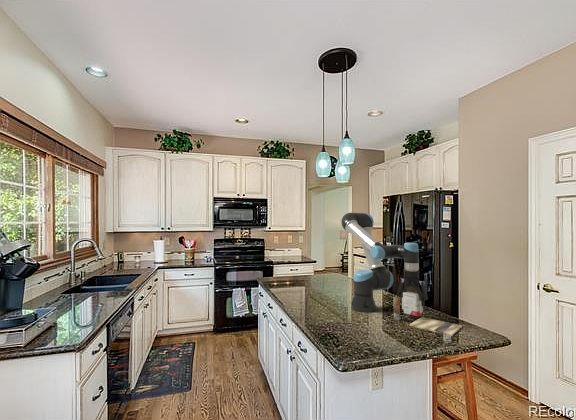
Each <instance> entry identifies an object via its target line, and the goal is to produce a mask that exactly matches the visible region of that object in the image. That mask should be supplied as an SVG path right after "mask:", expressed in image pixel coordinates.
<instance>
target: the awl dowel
mask: <svg viewBox="0 0 576 420" xmlns="http://www.w3.org/2000/svg"><path fill="white" fill-rule="evenodd" d="M392 299H393V320H394V321H400V320H401V319H400V318H401V316H400V313H401V310H400V308H401V307H400V306H401V305H400V304H401V302H400V296H397V297H396V296H394V297H393V298H392Z"/></svg>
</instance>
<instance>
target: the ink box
mask: <svg viewBox="0 0 576 420" xmlns="http://www.w3.org/2000/svg"><path fill="white" fill-rule="evenodd" d="M420 300H421V299H420V297H419V295H418V293H417V292H413V291H408V290H407V291H406V292H404V293H403V304H404V309H403V314H406V315H411V316H413V317H420V316H422V315H423V312H422V313H420Z"/></svg>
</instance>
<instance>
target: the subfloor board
mask: <svg viewBox="0 0 576 420" xmlns="http://www.w3.org/2000/svg"><path fill="white" fill-rule="evenodd" d="M409 326H410V327H413V328H416V329H417V328H418V329H422V330H425V331H430V332H434V333H438V334H442V335H446V336H450V337H453V336H454V335H455V334H456V333H458V332H459V329H460V328H461V329H462V328H463V325H461V324H456V323H452V322H448V321H443V320H439V319H434V318H429V317H426V316H424V317H423V316H421V317H420V318H417V319H416V320H415V321H413V322H411V323H410V324H409ZM461 329H460V330H461Z"/></svg>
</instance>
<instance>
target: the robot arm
mask: <svg viewBox="0 0 576 420" xmlns="http://www.w3.org/2000/svg"><path fill="white" fill-rule="evenodd" d="M340 221H341V222H340V223H341V227H342V228H343V229H344V230H345V231H346V232H347V233H350V234H351V235H352V236H353V237H355V239H356V240H358V241H359V242H360V243H361V246H362V249H363V252H364V255H365V258H366V262H367V264H368V267H369V269H359V270H356V271H355V272H354V273H353V278H352V279H353V297H352V299H351V300H352V301H351V303H350V308H351V309H352V310H353V311H355V312H361V313H373V312H376V311H377V304H376V301H375V298H374V291H381V290H382V291H384V290H388V289H390V288H391V287H393V283H394V275H393V273H392V272H391V271H390V270H388V269H387V266H385V264H383V263H382V260H383V259H384V260H385V259H404V260H403V261H404V263H403V264H404V278H398V280H399V284H398V287H397V292H396V296H397V297H399V298H400V304H401V309H402V310H404V304H403V293H404V292H407V291H408V289H409V288H414V290H415V291H416V293H418V295H419V297H420V299H421V300H420V313H422V314H423V312H424V307H425V306H426V305H425V303H426V302H425V301H427V300H429V297H428V292H427V288H426V281H424V280H423V281H422V280H420V271H419V270H420V265H419V263H420V262H419V260H420V259H419V255H420V254H419V252H420V250H419V244H418V243H416V242H405V243H404V244H403V245H399V244H389V245H385V244H384V245H383V244H382V243H381V242H380V241H379V240H377V238H376V237H374V236H373V233H372V231H373V227H374V218H373V216H372V215H371V214H370V213H367V212H347V213H345V214H344V215H343V216H342V218H341V220H340ZM404 283H405V286H404ZM403 286H404V288H403Z"/></svg>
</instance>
